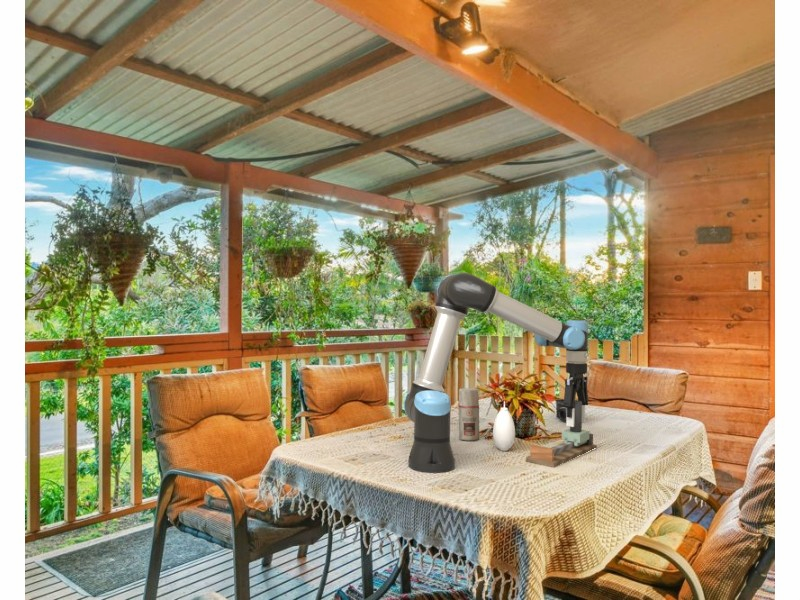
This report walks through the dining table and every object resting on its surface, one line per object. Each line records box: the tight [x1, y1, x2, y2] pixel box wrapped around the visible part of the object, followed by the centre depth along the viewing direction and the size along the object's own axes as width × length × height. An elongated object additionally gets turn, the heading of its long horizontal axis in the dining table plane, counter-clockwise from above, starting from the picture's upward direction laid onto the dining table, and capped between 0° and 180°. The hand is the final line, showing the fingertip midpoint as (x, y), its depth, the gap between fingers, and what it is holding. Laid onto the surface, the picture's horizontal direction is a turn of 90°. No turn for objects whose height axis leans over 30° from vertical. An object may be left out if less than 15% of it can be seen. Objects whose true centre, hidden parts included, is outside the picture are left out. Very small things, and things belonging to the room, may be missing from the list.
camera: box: [555, 398, 578, 423], centre depth 257 cm, size 14×11×10 cm
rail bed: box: [525, 432, 598, 468], centre depth 197 cm, size 34×10×6 cm, turn 138°
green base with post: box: [561, 399, 591, 446], centre depth 204 cm, size 8×7×15 cm
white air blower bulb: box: [492, 400, 516, 452], centre depth 202 cm, size 8×8×18 cm
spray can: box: [458, 387, 480, 441], centre depth 218 cm, size 8×8×20 cm
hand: (575, 424), depth 204 cm, fingers open, 8 cm apart
